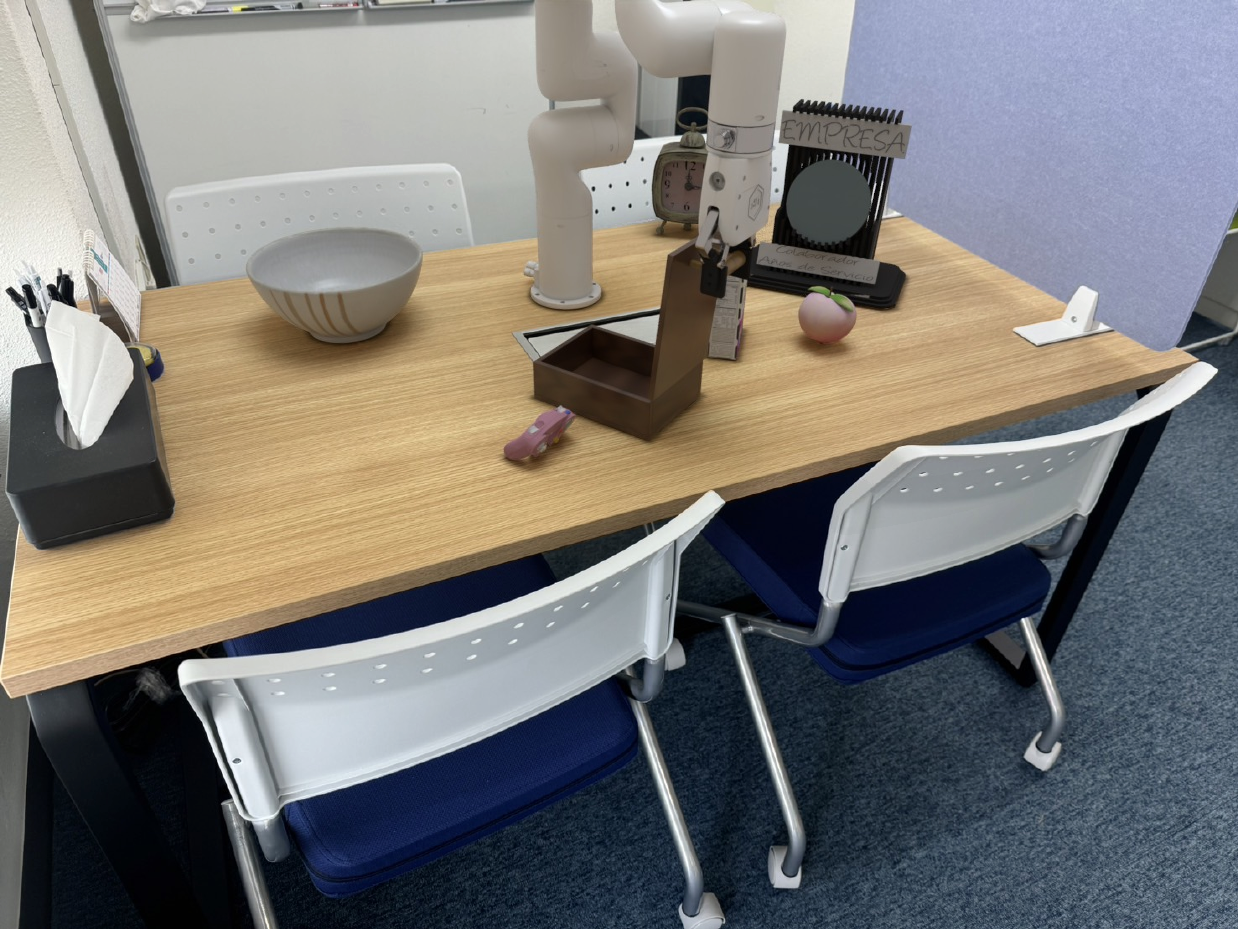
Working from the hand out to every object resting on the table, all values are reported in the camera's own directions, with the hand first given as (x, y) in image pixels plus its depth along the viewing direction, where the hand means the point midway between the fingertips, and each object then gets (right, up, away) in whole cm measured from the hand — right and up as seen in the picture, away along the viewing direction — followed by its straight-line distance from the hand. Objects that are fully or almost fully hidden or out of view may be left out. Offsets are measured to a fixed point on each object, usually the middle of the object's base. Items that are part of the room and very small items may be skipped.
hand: (725, 284), depth 107 cm
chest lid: (-4, -2, +5) cm, 7 cm away
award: (+24, +13, +56) cm, 63 cm away
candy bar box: (+4, -3, +34) cm, 34 cm away
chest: (-13, -12, +19) cm, 27 cm away
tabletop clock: (+1, +26, +74) cm, 79 cm away
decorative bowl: (-58, 0, +36) cm, 69 cm away
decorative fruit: (+20, -3, +34) cm, 40 cm away
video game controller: (-24, -20, +8) cm, 32 cm away
